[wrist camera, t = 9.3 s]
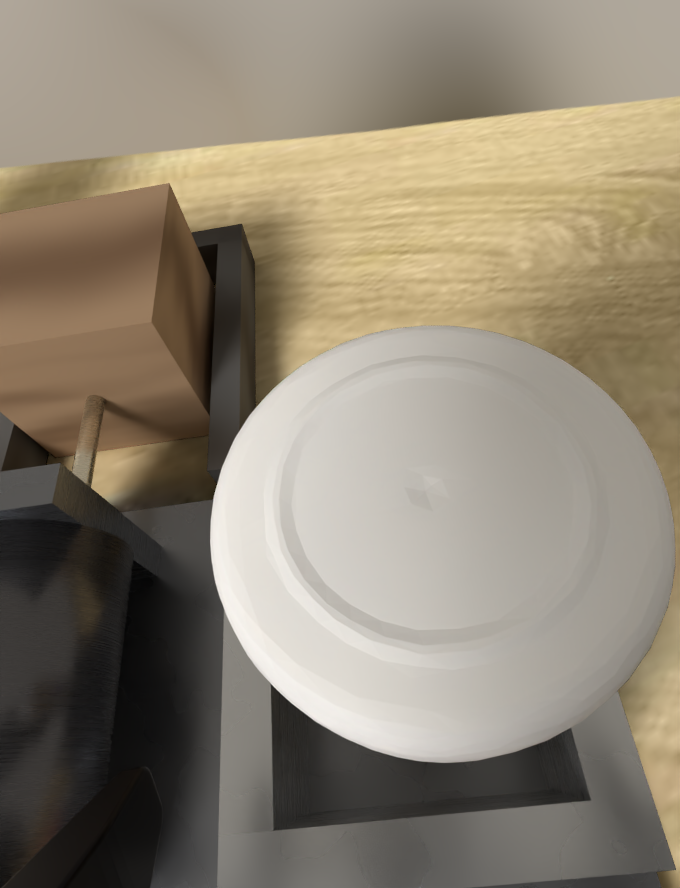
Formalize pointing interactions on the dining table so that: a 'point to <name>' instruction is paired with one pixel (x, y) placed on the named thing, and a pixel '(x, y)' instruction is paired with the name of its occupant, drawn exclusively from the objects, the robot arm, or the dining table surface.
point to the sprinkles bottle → (442, 543)
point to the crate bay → (123, 327)
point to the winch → (258, 729)
